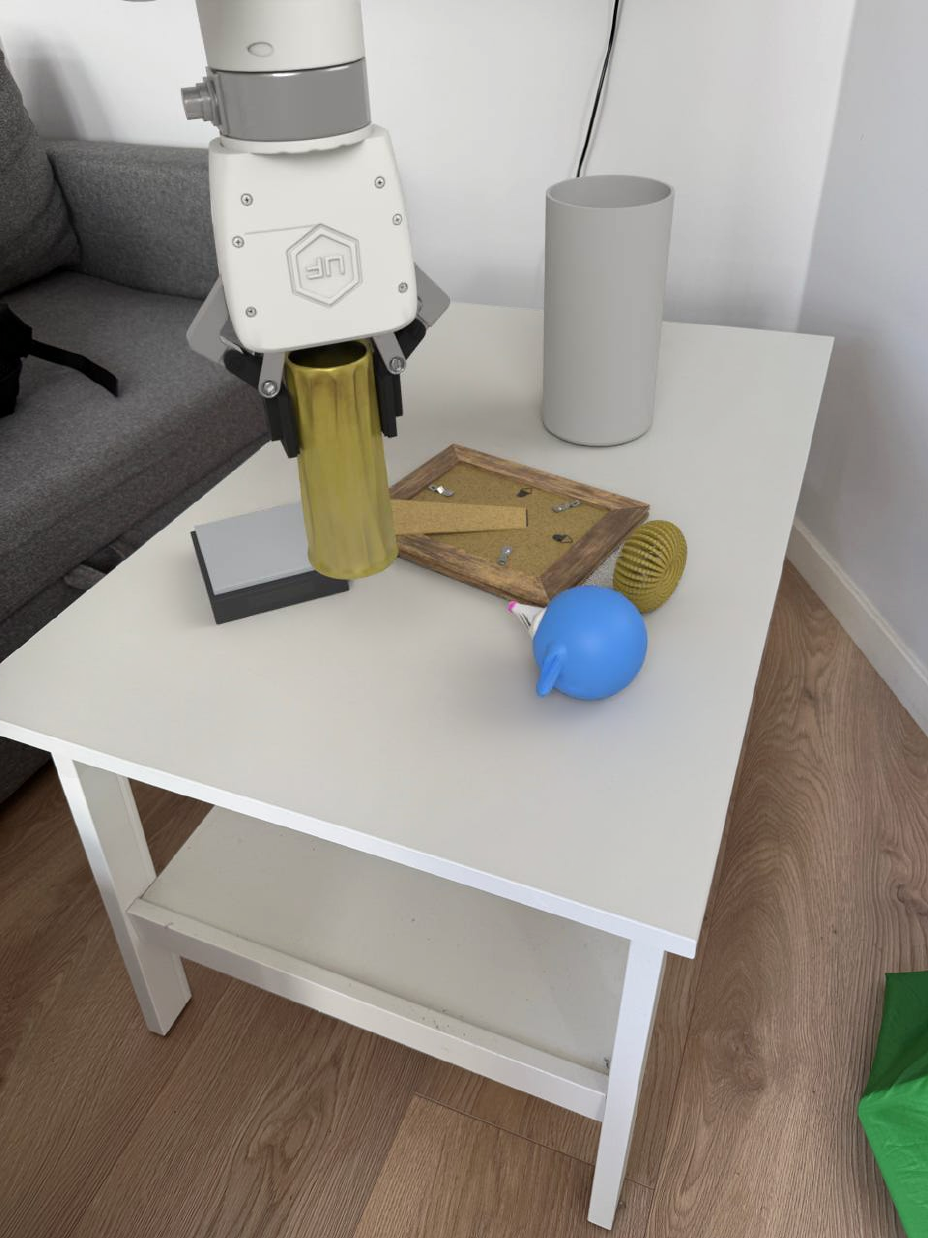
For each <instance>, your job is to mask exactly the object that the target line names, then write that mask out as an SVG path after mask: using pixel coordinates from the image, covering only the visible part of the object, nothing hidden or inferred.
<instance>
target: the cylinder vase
mask: <svg viewBox="0 0 928 1238" xmlns="http://www.w3.org/2000/svg"><path fill="white" fill-rule="evenodd" d="M675 195H676V190H675V187H673V185H671V184H669V183H668V182H665V181H663V180H660V179H656V178H652V177H648V176H647V177H646V176H639V175H632V174H631V175H630V174H629V175H628V174H596V175H595V174H594V175H586V176H577V177H573V178H569V179H568V178H567V179H563V180H561V181H558V182H555V183H554V184H551V185H550V186H549V187H547V188H546V191H545V220H544V221H545V223H544V224H545V225H544V226H545V227H544V229H545V230H544V289H543V290H544V292H543V293H544V295H543V296H544V297H543V306H544V307H543V353H542V355H543V356H542V357H543V360H542V361H543V362H542V421H543V424H544V426H545V428H546V429H547V431H549V432H550V433H551V434H553V435H554V436H555V437H557V438H558V439H560V440H562V441H566V442H568V443H571V444H575V445H579V446H588V447H610V446H612V447H613V446H617V445H622V444H626V443H629V442H631V441H634V440H636V439H638V438H640V437H641V436H643V435H644V434H645V433H646V432H648V430H649V428H650V427H651V426H652V423H653V419H654V409H655V408H654V407H655V399H656V388H657V379H658V378H657V377H658V367H659V357H660V346H661V338H662V327H663V326H662V325H663V316H664V307H665V295H666V287H667V286H666V285H667V278H668V277H667V275H668V266H669V265H668V264H669V256H670V246H671V237H672V236H671V235H672V225H673V214H674V205H675Z"/></svg>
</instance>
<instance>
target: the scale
mask: <svg viewBox="0 0 928 1238" xmlns="http://www.w3.org/2000/svg"><path fill="white" fill-rule="evenodd" d="M193 528H194V530H192V531H190V532H189V534H190V537H191V540H192V544H193V548H194V552H195V554H196V558H197V562H198V566H199V569H200V572H201V576H202V579H203V583H204V586H205V587H204V588H205V591H206V593H207V597H208V601H209V604H210V607H211V611H212V614H213V617H214V622H215V625H221V624H224V623H229V622H233V621H236V620H241V619H244V618H248V617H251V616H256V615H259V614H263V613H267V612H271V611H274V610H278V609H282V608H286V607H290V606H293V605H298V604H301V603H306V602H309V601H312V600H317V599H321V598H324V597H329V596H331V595H336V594H340V593H344V592H348V591H350V584H349V579H336V578H332V577H328V576H325V575H323V574H321V573H319V572H318V571H316V570H315V569H314V568H313V567H312V566H311V564H310V562H309V560H308V554H307V552H308V540H307V535H306V529H305V523H304V517H303V508H302V500H301V501H297V502H291V503H288V504H283V505H279V506H276V507H275V506H274V507H272V508H271V507H270V508H267V509H261V510H257V511H253V512H249V513H245V514H241V515H236V516H232V517H228V518H224V519H223V518H222V519H218V520H214V521H210V522H206V523H202V524H197V525H194V526H193Z"/></svg>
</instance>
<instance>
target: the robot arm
mask: <svg viewBox="0 0 928 1238" xmlns="http://www.w3.org/2000/svg"><path fill="white" fill-rule="evenodd" d="M122 1H123V2H131V3H148V2H153V1H154V2H155V1H156V0H122ZM194 1H195V7H196V11H197V17H198V22H199V28H200V32H201V38H202V45H203V49H204V55H205V59H206V64H207V66H205V74H206V76H202V82H197V83H195V86H188V87H180V96H181V101H182V107H183V111H184V114H185V117H186V120H187V121H190V120H200V119H202V121H203V122H210V124H212V125H213V127H216V128H217V129H218V130H219V132H218V133H219V136H217V137H214V138H213V139H211V140H210V141H209V142H208V186H209V187H208V188H209V196H210V197H209V198H210V213H211V223H212V233H213V239H214V240H213V241H214V246H215V247H214V248H215V253H216V262H217V268H218V275H219V276H218V278H217V279H216V281H215V282H214V284H213V286H212V288H211V290H210V291H209V293H208V294H207V296H206V298H205V300H204V301H203V303H202V305H201V307H200V308H199V310H198V312H197V314H195V317H194V319H193V320H192V322H191V323H190V325H189V326H188V329H187V330H186V334H185V337H186V340H187V343H188V346H189V348H190V349H191V350H192V351H193V352H195V353H196V354H198V355H200V356H202V357H203V358H206V359H208V360H209V361H210V362H213V363H214V364H216V365H220V366H221V367H223V368H225V370H227V371H228V372H229V373H230V374H232V375H233V376H235V377H236V378H238V379H239V380H241V381H242V382H244V383H246V384H247V385H249V386H250V387H252V388H254V389H255V390H257V391H258V392H259V393H260V399H261V403H262V408H263V414H264V419H265V424H266V428H267V433H268V437H269V440H270V442H271V443H273V442H277V441H278V442H280V443H281V446H282V447H283V450H284V452H285V454H286V456H287V458H288V460H289V459H294V458H297V455H298V454H300V449H299V443H298V437H297V431H296V425H295V418H294V412H293V406H292V400H291V397H290V394H289V392H288V390H287V386H286V385H285V383H284V380H283V373H284V362H285V356H286V351H292V350H299V349H305V348H310V347H316V346H322V345H328V344H334V343H340V342H345V341H351V340H357V339H362V338H363V339H366V338H367V339H368V341H369V344H370V346H371V348H372V354H373V363H374V370H375V380H376V392H377V401H378V409H379V417H380V425H381V433H382V436H384V437H385V438H386V437H387V438H388V439H392V438H393V439H394V438H397V437H398V426H397V418H399V417H403V416H404V405H403V393H402V381H401V373H403V372H405V370H406V367H407V360H408V359H409V358H410V357H411V355H412V354H413V352H414V351H415V350H416V348H418V346H419V345H420V344H421V342H422V341H423V339H424V338H425V337H426V334H427V330H429V329H430V328H432V327H433V326H434V325H435V323H436V322H437V321H438V320H439V319H440V317H441V316H442V315H443V314H444V313H445V312H446V311H447V310H448V309H449V308H450V304H451V298H450V296H449V294H447V292H445V291H444V290H443V289H442V288H441V287H440V286H439V285H438V284H437V283H436V282H435V281H434V280H433V279H432V278H431V277H430V276H429V275H428V274H427V273H426V272H425V271H424V270H423V269H422V268H421V267H420V266H419V265H418V264H417V263H416V262H415V261H414V255H413V254H414V253H413V248H412V241H411V234H410V226H409V221H408V214H407V208H406V202H405V196H404V191H403V185H402V181H401V180H402V179H401V175H400V171H399V167H398V162H397V158H396V154H395V150H394V146H393V142H392V137H391V135H390V131H389V130H388V129H387V128H385V127H382V126H381V125H378V124H375V123H373V122H372V112H371V101H370V91H369V89H370V88H369V79H368V68H367V67H368V66H367V57H366V49H365V35H364V26H363V15H362V14H363V13H362V4H361V2H362V1H361V0H194ZM229 319H230V322H231V324H232V328H233V331H234V333H235V335H236V338H237V339H238V341H239V342H240V344H241V345H242V346H243V347H242V346H241V345H239V344H238V343H236V342H231V341H229V339H227V338H226V337H224V336H222V335H221V333H222V331H223V329H224V328H225V326H226V324H227V322H228V321H229ZM248 350H249V351H252V353H251V352H249V351H248Z"/></svg>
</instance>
